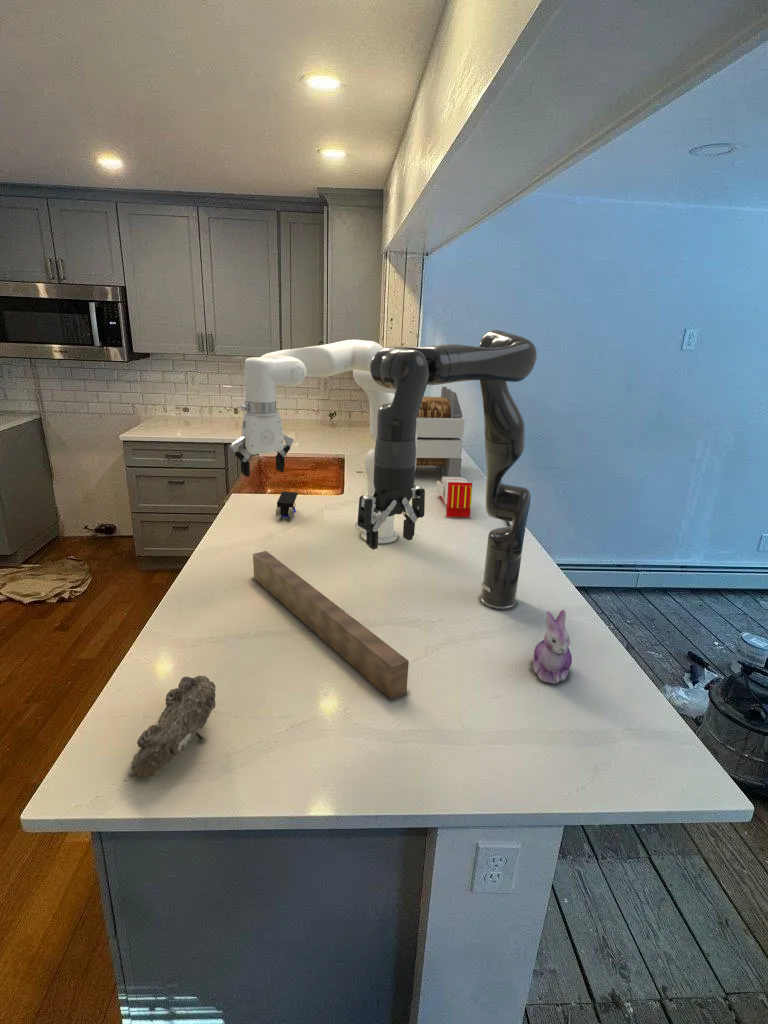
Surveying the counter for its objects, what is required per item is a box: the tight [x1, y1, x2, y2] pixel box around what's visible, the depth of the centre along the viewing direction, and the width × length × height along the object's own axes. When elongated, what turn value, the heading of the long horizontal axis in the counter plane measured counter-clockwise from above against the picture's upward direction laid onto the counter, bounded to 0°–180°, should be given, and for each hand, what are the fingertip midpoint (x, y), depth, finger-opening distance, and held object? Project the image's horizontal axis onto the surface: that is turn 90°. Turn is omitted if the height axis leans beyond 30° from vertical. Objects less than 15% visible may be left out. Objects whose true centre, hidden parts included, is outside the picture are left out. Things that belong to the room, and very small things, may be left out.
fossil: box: [130, 675, 217, 778], centre depth 101 cm, size 22×10×15 cm
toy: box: [435, 476, 473, 518], centre depth 229 cm, size 12×13×30 cm
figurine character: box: [275, 491, 299, 522], centre depth 211 cm, size 7×8×15 cm
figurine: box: [532, 609, 573, 684], centre depth 124 cm, size 9×10×15 cm
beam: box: [252, 550, 410, 701], centre depth 139 cm, size 64×4×8 cm, turn 37°
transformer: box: [394, 386, 465, 477], centre depth 268 cm, size 34×33×41 cm
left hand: (263, 472), depth 149 cm, fingers open, 9 cm apart
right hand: (390, 543), depth 109 cm, fingers open, 8 cm apart
